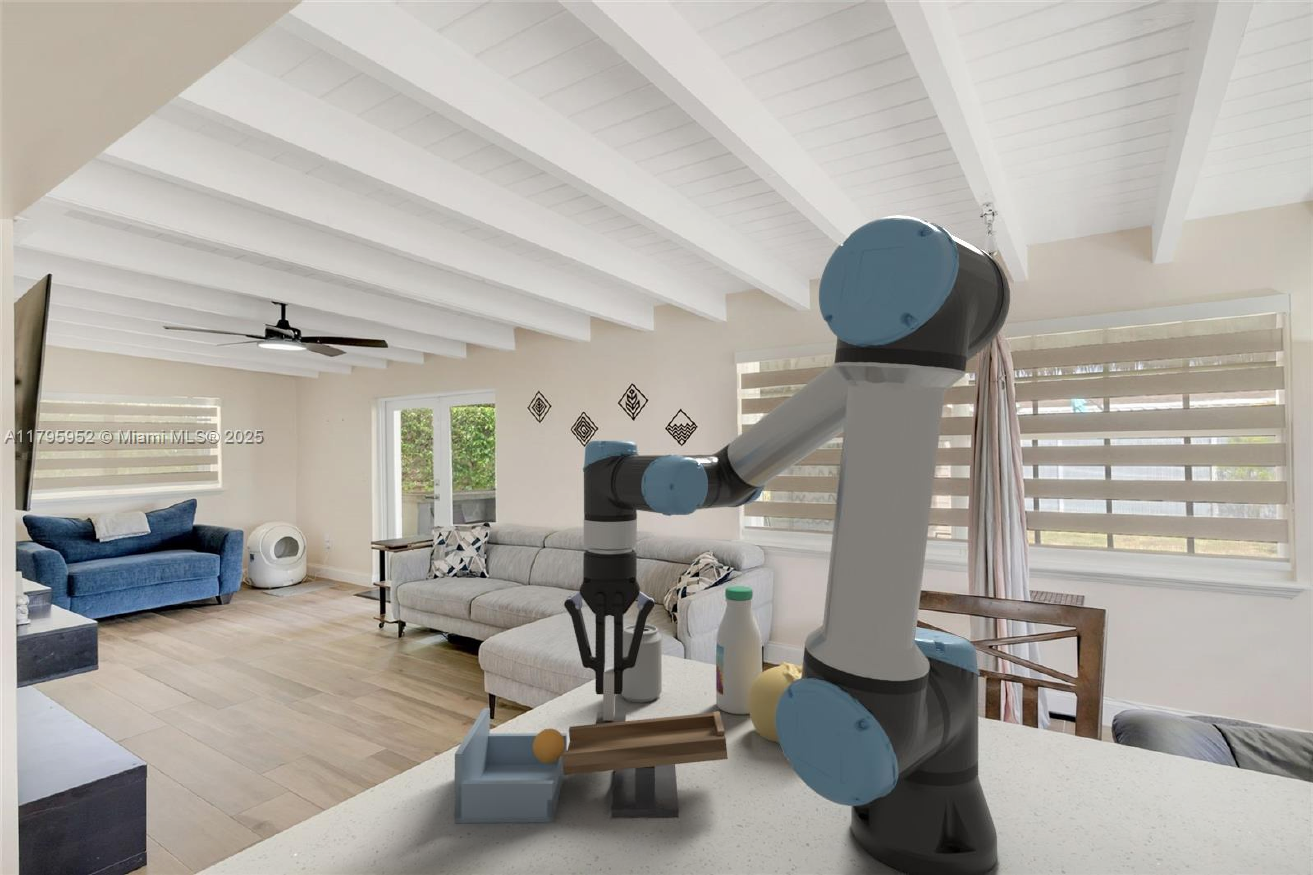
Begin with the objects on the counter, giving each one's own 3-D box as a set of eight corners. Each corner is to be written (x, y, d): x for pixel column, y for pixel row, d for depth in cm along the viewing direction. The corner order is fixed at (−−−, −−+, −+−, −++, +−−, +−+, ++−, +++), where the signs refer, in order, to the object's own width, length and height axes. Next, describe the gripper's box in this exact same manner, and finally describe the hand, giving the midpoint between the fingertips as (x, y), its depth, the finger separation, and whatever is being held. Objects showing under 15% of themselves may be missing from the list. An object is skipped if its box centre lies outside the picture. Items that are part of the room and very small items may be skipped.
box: (483, 766, 90) (484, 707, 91) (566, 766, 91) (567, 707, 91) (454, 823, 77) (454, 753, 77) (552, 822, 77) (552, 753, 77)
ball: (523, 737, 84) (532, 767, 84) (538, 741, 81) (548, 772, 81) (549, 721, 87) (558, 750, 87) (564, 724, 84) (574, 754, 84)
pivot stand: (616, 768, 90) (616, 736, 90) (674, 768, 90) (674, 736, 90) (611, 818, 78) (611, 780, 78) (678, 817, 78) (678, 780, 78)
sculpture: (838, 754, 94) (837, 678, 94) (753, 753, 94) (753, 677, 95) (820, 721, 106) (819, 653, 106) (744, 720, 106) (744, 653, 106)
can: (663, 689, 120) (663, 622, 120) (659, 705, 112) (659, 634, 112) (622, 687, 120) (622, 621, 121) (616, 703, 113) (616, 633, 113)
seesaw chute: (577, 720, 96) (576, 700, 96) (714, 707, 96) (712, 686, 96) (563, 775, 80) (561, 750, 80) (727, 759, 80) (725, 734, 80)
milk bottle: (769, 703, 113) (769, 586, 113) (750, 719, 106) (750, 595, 106) (728, 694, 117) (728, 581, 117) (708, 709, 110) (708, 589, 111)
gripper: (655, 545, 97) (654, 706, 97) (567, 544, 97) (566, 705, 97) (656, 553, 90) (655, 728, 89) (560, 553, 90) (559, 727, 89)
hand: (609, 716), depth 93 cm, fingers closed
